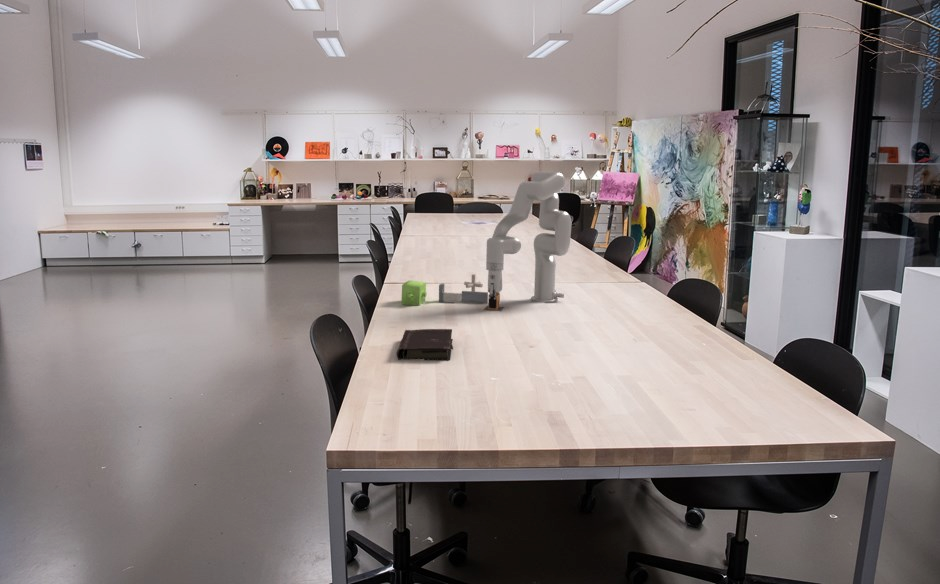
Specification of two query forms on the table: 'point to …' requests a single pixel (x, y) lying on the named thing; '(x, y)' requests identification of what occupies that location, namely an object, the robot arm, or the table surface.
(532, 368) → the table surface
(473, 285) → the pipe connector
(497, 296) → the clip
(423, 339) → the diary
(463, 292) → the rail
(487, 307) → the pad
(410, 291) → the green square teapot
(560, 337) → the table surface
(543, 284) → the robot arm
